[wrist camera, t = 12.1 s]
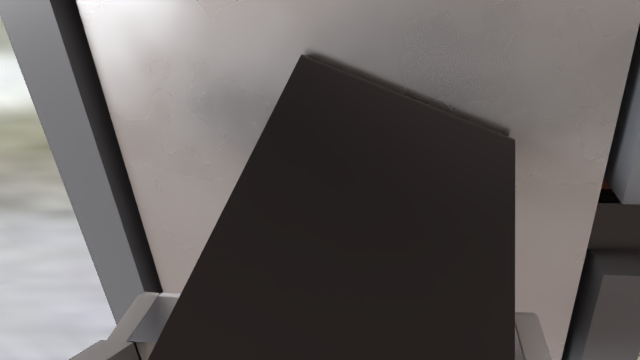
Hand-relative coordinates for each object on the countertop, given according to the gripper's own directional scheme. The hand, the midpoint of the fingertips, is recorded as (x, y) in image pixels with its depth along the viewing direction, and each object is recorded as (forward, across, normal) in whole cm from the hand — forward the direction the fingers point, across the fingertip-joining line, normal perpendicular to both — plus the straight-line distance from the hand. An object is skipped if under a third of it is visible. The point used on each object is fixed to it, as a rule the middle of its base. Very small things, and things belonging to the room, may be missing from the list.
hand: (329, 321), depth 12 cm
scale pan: (+5, +1, 0) cm, 6 cm away
